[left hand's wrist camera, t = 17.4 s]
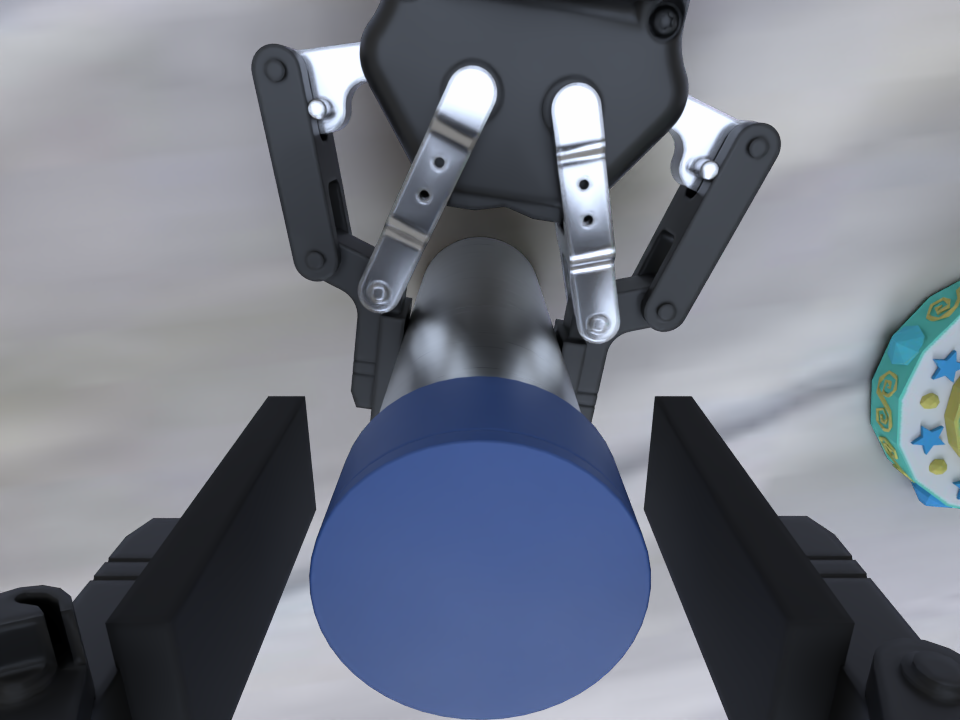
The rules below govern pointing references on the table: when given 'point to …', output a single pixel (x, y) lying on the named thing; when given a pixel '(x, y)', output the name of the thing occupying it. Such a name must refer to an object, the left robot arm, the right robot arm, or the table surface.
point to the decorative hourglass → (923, 399)
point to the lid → (480, 552)
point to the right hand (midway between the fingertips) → (468, 427)
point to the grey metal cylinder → (480, 323)
